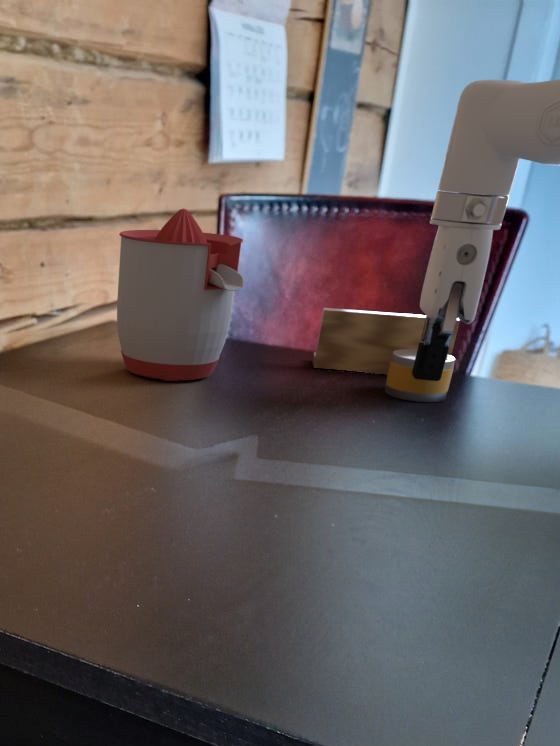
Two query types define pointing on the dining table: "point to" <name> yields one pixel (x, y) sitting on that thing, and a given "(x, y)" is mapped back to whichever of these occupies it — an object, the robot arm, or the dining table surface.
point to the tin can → (415, 389)
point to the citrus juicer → (176, 298)
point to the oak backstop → (366, 339)
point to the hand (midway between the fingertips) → (425, 378)
